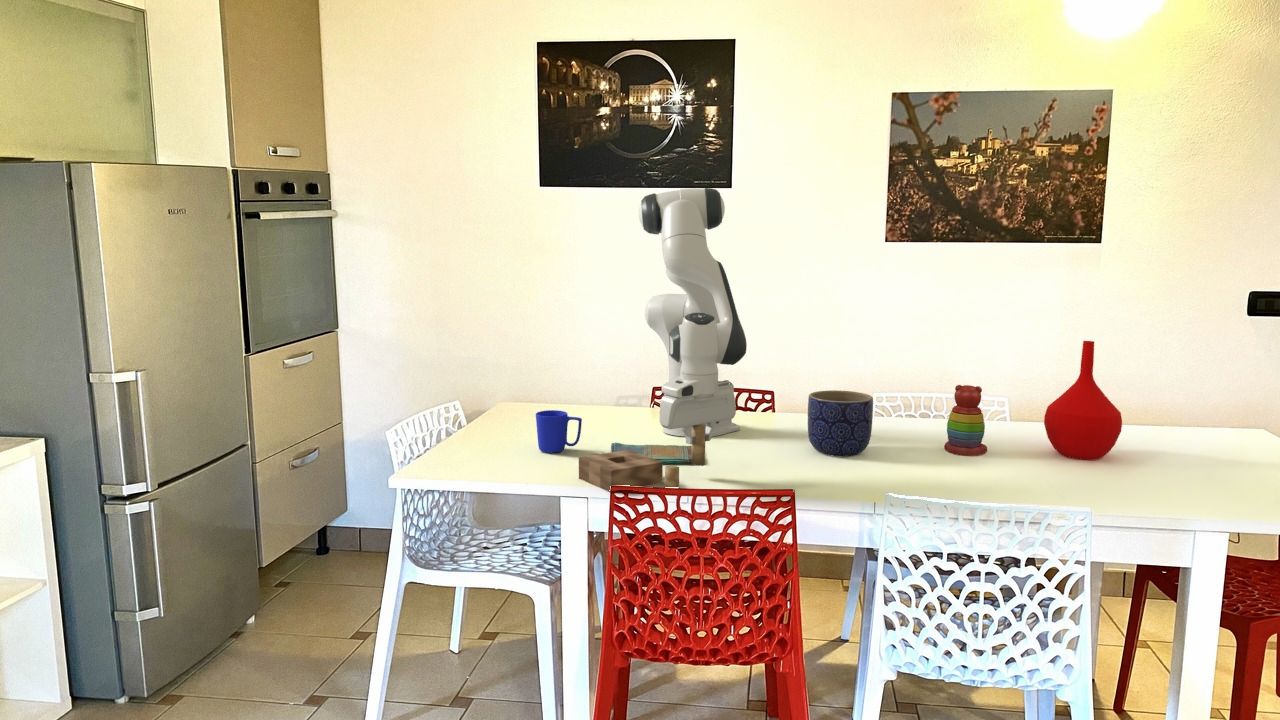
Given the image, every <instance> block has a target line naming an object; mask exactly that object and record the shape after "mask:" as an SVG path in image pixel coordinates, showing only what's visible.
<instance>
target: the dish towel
mask: <svg viewBox="0 0 1280 720" xmlns="http://www.w3.org/2000/svg"><path fill="white" fill-rule="evenodd" d="M691 449H692V445H677V444H676V445H675V444H666V445H664V444H628V443H627V444H625V443H620V442H611V445H610V452H616V451H623V450H631V451H634V452H637V453H640V454H642V455H645V456H648V457H650V458H653V459H656V460H659V461H661V462H663V466H664V465H666V466H678V465H679V466H685V465H686V466H690V465H692V464H691ZM692 466H693V465H692Z"/></svg>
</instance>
